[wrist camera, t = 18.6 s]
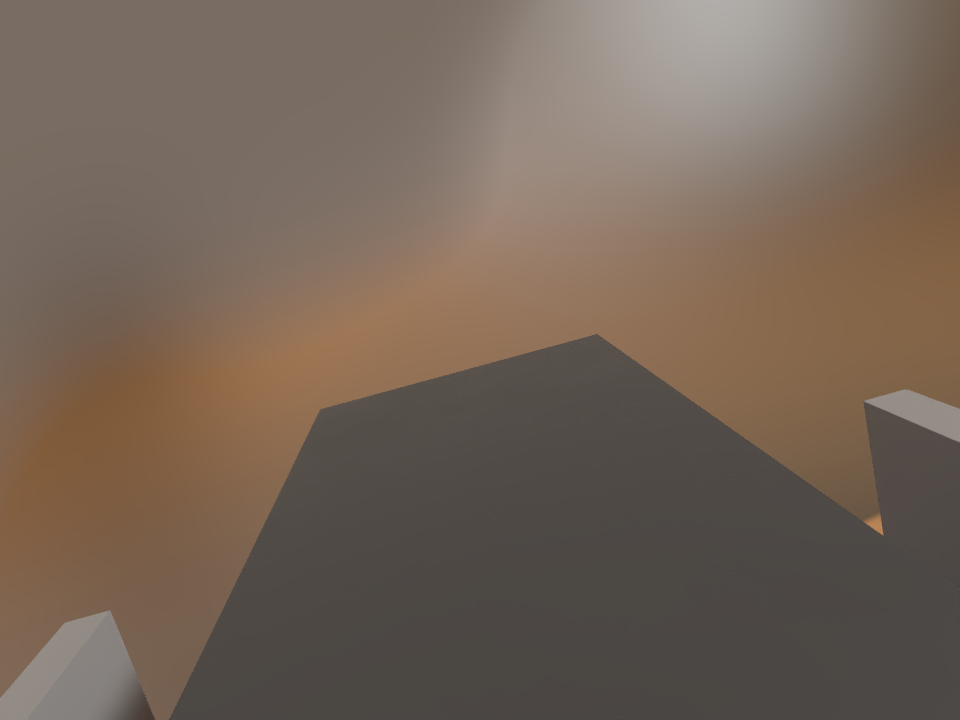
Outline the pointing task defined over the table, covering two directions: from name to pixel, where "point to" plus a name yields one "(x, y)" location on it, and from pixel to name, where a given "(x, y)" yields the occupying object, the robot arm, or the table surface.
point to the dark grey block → (567, 568)
